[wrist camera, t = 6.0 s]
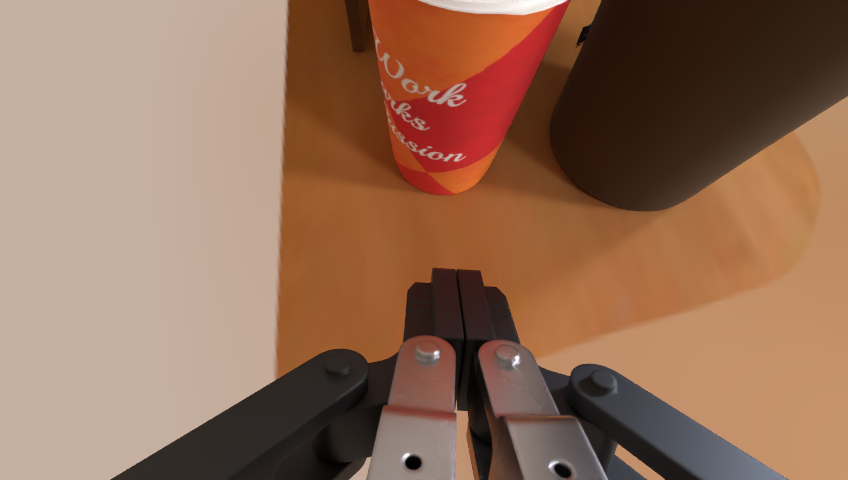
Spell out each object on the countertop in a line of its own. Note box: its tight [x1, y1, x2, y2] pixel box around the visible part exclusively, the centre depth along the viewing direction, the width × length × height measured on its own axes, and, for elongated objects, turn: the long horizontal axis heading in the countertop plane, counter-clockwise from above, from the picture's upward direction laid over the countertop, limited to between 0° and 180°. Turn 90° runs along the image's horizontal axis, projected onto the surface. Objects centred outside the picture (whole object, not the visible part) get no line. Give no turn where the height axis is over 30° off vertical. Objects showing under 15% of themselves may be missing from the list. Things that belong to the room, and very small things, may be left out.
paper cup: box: [368, 0, 571, 195], centre depth 18 cm, size 8×8×14 cm
